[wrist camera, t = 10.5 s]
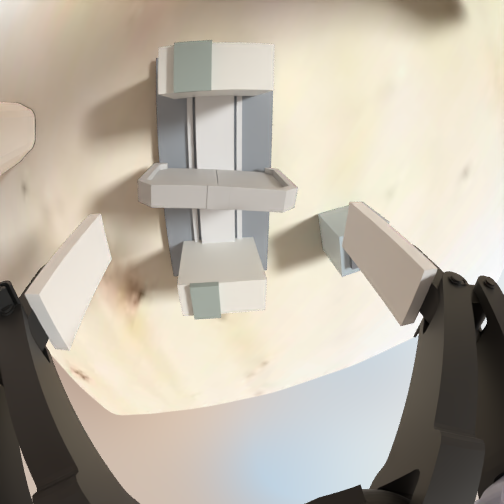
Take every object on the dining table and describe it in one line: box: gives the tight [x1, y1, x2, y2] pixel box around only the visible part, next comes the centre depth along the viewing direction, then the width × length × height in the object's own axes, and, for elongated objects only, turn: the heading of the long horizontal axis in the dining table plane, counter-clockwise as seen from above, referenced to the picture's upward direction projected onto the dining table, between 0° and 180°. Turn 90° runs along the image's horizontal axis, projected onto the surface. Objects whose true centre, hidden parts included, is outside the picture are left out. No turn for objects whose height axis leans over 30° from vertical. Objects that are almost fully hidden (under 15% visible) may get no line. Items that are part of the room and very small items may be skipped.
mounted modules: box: [158, 40, 274, 319], centre depth 22 cm, size 22×8×8 cm, turn 179°
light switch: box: [138, 163, 298, 212], centre depth 22 cm, size 2×12×8 cm, turn 84°
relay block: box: [318, 202, 389, 277], centre depth 29 cm, size 5×6×7 cm
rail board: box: [156, 58, 273, 276], centre depth 26 cm, size 24×11×2 cm, turn 179°
